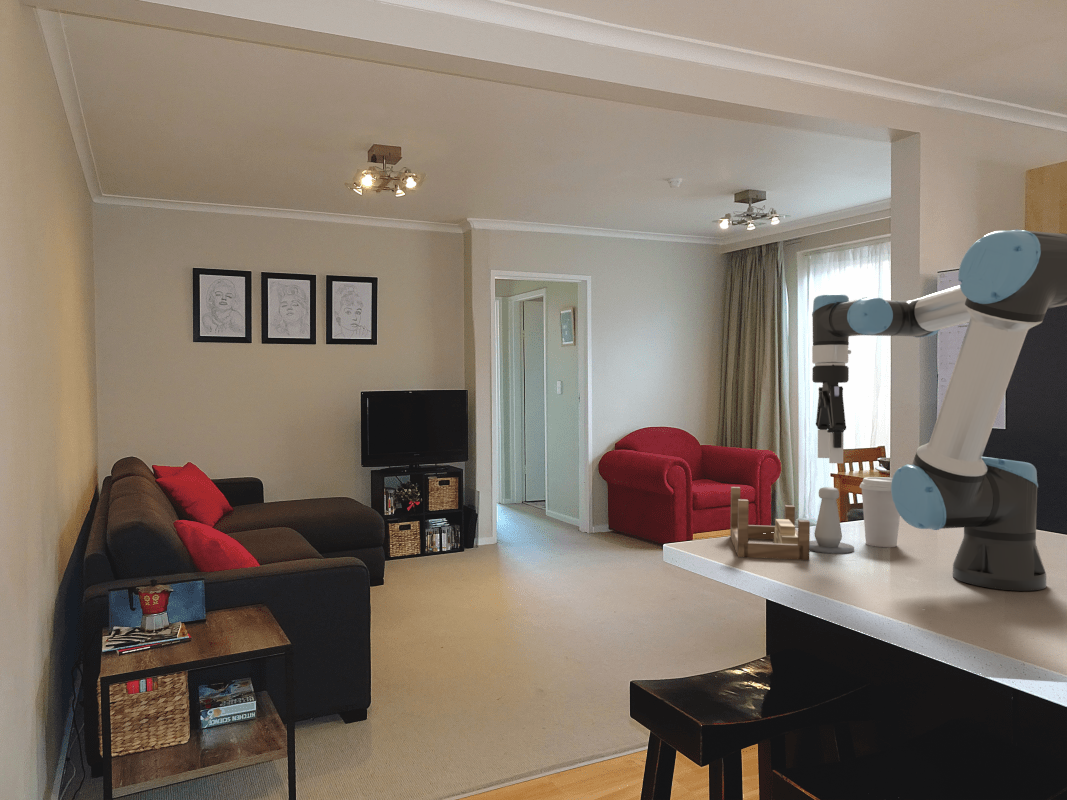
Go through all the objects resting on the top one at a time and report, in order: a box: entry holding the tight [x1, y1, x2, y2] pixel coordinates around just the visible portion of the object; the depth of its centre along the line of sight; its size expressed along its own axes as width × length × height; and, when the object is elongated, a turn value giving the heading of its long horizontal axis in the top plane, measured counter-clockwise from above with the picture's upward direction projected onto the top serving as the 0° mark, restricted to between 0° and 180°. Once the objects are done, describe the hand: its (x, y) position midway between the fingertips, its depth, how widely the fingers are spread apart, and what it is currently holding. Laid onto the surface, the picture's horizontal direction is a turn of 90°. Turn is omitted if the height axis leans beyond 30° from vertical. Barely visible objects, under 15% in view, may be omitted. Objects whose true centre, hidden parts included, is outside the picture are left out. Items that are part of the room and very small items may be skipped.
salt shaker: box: [813, 486, 843, 548], centre depth 175 cm, size 6×6×13 cm
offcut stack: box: [773, 518, 798, 544], centre depth 175 cm, size 14×3×6 cm, turn 170°
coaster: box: [809, 540, 855, 554], centre depth 175 cm, size 11×11×1 cm
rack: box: [729, 486, 811, 561], centre depth 175 cm, size 22×14×12 cm, turn 170°
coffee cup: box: [859, 476, 901, 548], centre depth 180 cm, size 10×10×15 cm
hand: (829, 460), depth 174 cm, fingers open, 13 cm apart
